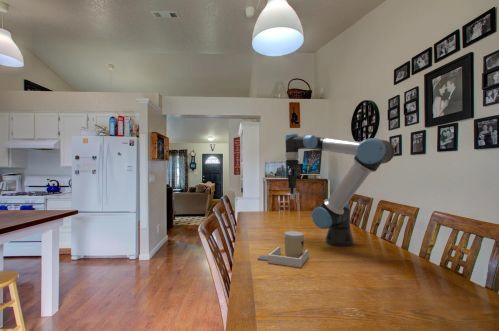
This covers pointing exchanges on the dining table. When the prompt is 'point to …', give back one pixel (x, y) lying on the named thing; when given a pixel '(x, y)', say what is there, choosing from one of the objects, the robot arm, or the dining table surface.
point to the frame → (287, 258)
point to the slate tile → (263, 258)
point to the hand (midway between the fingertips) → (292, 198)
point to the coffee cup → (293, 244)
